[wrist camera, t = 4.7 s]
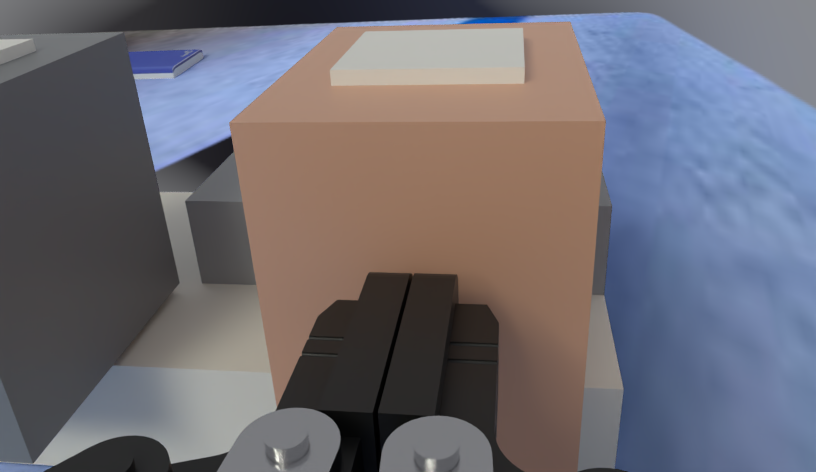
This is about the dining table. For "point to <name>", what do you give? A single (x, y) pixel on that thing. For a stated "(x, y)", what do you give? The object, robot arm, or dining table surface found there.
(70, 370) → the charcoal key
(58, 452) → the keypad deck
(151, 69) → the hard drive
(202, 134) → the dining table surface
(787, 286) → the dining table surface
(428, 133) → the terracotta key
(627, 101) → the dining table surface
